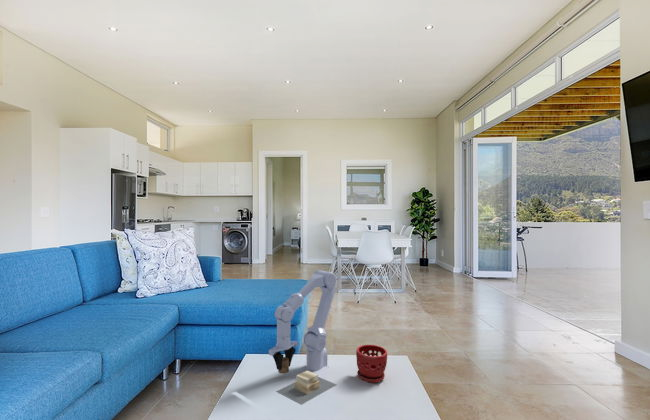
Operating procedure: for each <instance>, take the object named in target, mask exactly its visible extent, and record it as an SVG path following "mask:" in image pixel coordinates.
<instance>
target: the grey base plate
mask: <svg viewBox="0 0 650 420" xmlns="http://www.w3.org/2000/svg"><path fill="white" fill-rule="evenodd" d="M318 381H320V388H318V389H316V390H314V391H313V392H311V393H309V394H305V393H303V392H301V391H299V390H297V389H295V381H294V382H292V383H290V384H288V385H287V386H285V387H283V388H280V389H278V390H276V391H275V392H276V393H277V394H280V395H282V396H284V397H285V398H287V399H289V400H291V401H293V402H295V403H297V404H299V405H304V404H306V403H307V402H309V401H311V400H313V399H314V398H316V397H317V396H320V395H321V394H323V393H326V391H329V390H330V389H333V388H334V387H335V386H337V384H336V383H334V382H331V381H329V380H326V379H325V378H322V377H320V376H318Z"/></svg>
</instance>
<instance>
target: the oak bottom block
mask: <svg viewBox="0 0 650 420" xmlns="http://www.w3.org/2000/svg"><path fill="white" fill-rule="evenodd" d="M294 382H295V389H297V390H299V391H301V392H303V393H305V394H309V393H311V392H313V391H314V390H316V389H318V388H320V381H317V382H316V383H314V384H312V385H310V386H308V387H307V386H305V385H302V384H300V383H298V382H296V381H294Z"/></svg>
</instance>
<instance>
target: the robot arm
mask: <svg viewBox="0 0 650 420" xmlns="http://www.w3.org/2000/svg"><path fill="white" fill-rule="evenodd" d="M336 283H337V277H336V275H335V273H334V272H332V271H326V270H321V269H317V270H315V272H313V273H312V274H311V277H310V279H308V280H307V282H306V283H305V284H304V286H303V287H302V288H301V289H300V290H299V292H294V293H291V294H290V297H289V298H288V299H287V300H286V301H285V302H283V303H282V305H279V306H277V307H276V309H275V312H274V313H273V314H274V317H275V318H276V343H275V345H274V346H273V347H272V348H270V349H268V355H269V356H271V357H272V358H273V360H274V362H275V363H274V364H275V366H276V370H281V369H282V359H283V357H287V358H289V367H291V363H292V360H293V357H294V355H295V352H296V350H297V349H296V348H295V347H298V345H299V343H298V341H297V340H291V333H292V332H291V330H292V329H291V327H292V325H291V322H292V321H291V320H293V318H294V315H295V313H296V311H298V309H299V308H300V307H301V306H302V305H303V304H304V301H305V300H304V299H305V298H307V296H309V295H310V294H311V292H312V291H314V290H315V289H316V288H318V287H319V288H320V289H321V292H322V293H321V297H320V300H319V303H318V306H317V310H316V314H315V317H314V320H313V322H312V323H313V324H312V325H311V326H310V327H309V328H307V331H306V333H305V334H304V336H303V344H304V345H305V348H306V369H307V370H308V371H311V372H312V371H320V370H322V369H323V368H325V367H326V368H329V366H328V350H327V348H326V345H327V336H328V335H327V333H326V330H325V327H326V324H327V320H328V316H329V314H330V310H331V307H332V303H333V299H334V297H335V293H336ZM281 352H284V354H282V353H281Z"/></svg>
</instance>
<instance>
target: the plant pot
mask: <svg viewBox="0 0 650 420" xmlns="http://www.w3.org/2000/svg"><path fill="white" fill-rule="evenodd" d="M370 351H371V352H370ZM355 352H356V353H355V354H356V366H357V369H358V370H357V371H356V373H357V376H358V378H359V379H360V380H362V381H363V382H366V383H367V382H368V383H375V384H376V383H379V382H381V381H383V380H384V378H385V376H386V375H385V370H386V368H387V364H388V351H387V349H386V348H384V347H383V346H380V345H376V344H362V345H359V346H358V347H357V348H356V351H355ZM379 353H380V355H379Z"/></svg>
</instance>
